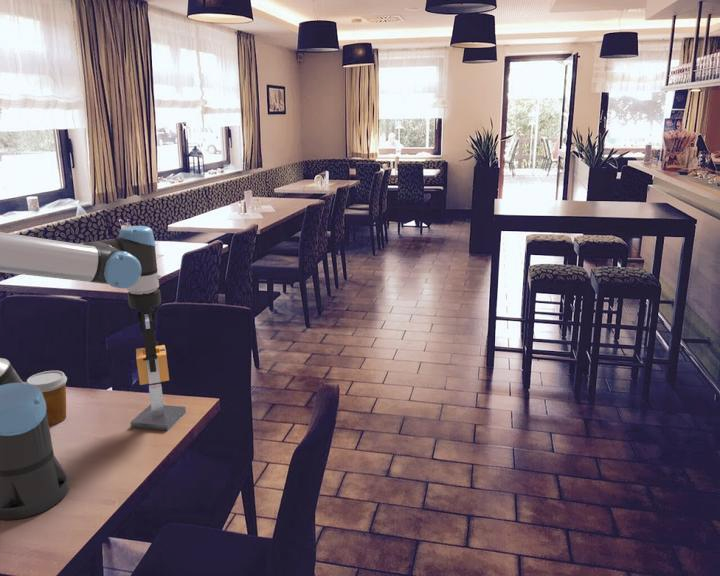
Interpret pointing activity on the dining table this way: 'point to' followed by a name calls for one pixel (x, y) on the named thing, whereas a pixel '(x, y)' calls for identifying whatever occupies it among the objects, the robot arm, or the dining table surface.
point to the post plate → (159, 420)
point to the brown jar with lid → (52, 393)
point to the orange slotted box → (143, 366)
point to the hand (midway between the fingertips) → (154, 376)
